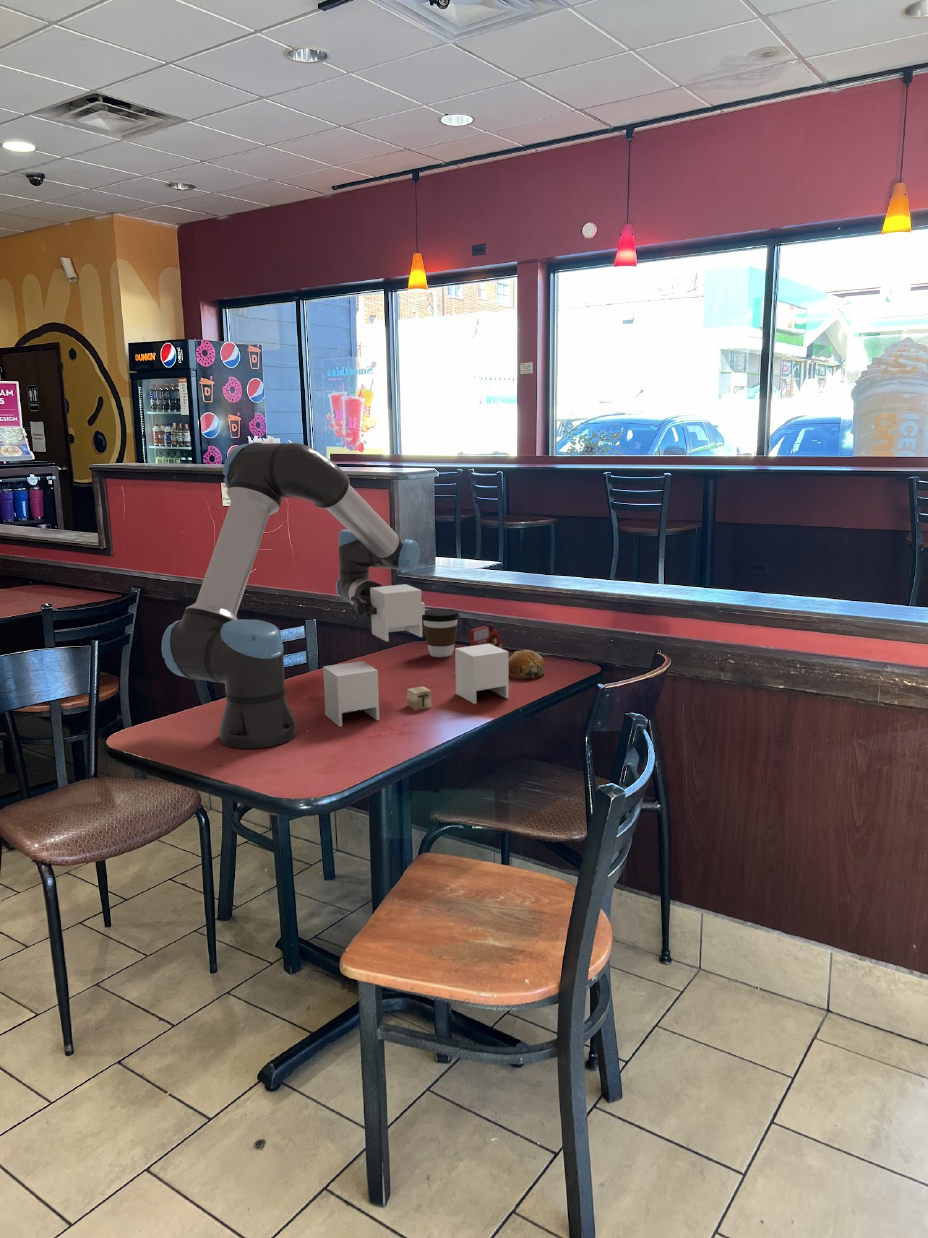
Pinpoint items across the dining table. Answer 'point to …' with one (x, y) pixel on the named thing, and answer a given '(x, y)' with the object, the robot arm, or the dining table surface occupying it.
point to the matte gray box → (481, 671)
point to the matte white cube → (350, 690)
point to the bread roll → (525, 664)
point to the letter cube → (419, 698)
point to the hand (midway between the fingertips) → (403, 611)
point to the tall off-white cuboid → (397, 610)
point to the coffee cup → (440, 631)
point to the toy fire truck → (485, 636)
